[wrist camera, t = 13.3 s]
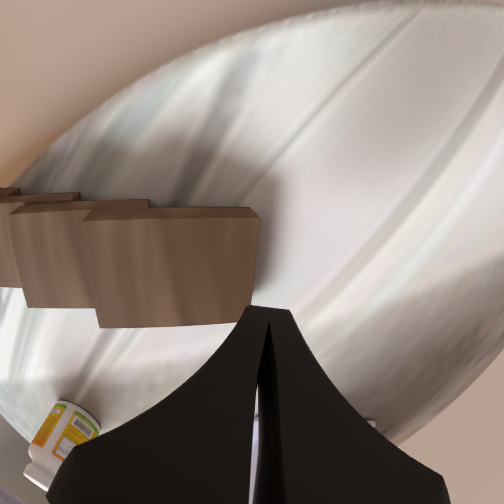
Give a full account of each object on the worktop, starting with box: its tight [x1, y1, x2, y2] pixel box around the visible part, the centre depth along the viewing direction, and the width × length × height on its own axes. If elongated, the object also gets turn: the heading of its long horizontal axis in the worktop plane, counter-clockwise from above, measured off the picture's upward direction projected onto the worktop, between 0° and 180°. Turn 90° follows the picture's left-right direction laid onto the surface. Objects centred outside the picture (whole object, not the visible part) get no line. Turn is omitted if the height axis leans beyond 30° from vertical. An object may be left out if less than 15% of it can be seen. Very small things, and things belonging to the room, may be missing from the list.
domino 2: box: [8, 199, 149, 308], centre depth 13 cm, size 2×5×7 cm
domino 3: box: [82, 207, 260, 328], centre depth 12 cm, size 2×5×7 cm
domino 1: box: [0, 192, 80, 288], centre depth 13 cm, size 2×5×7 cm
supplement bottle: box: [24, 401, 100, 492], centre depth 18 cm, size 5×5×10 cm
